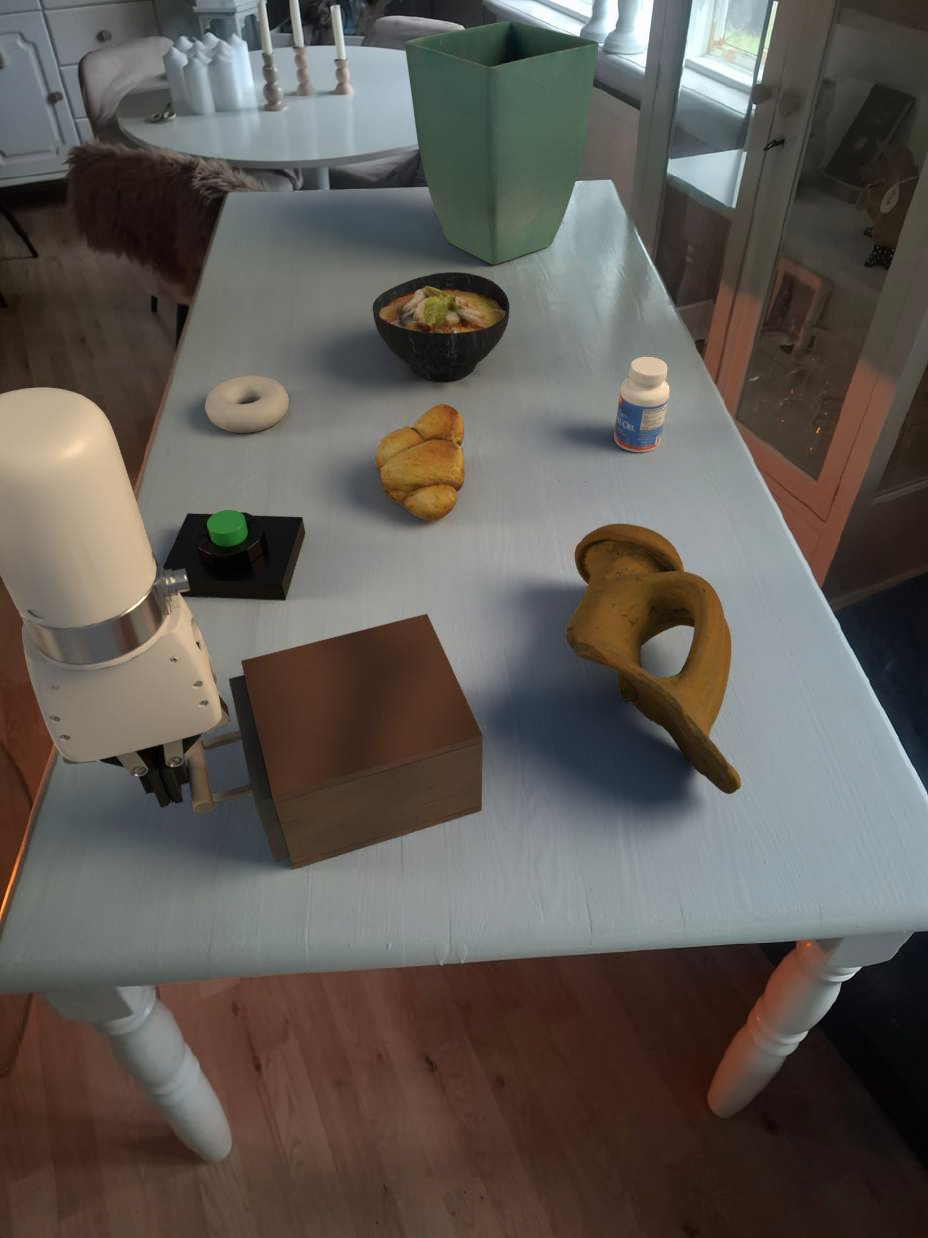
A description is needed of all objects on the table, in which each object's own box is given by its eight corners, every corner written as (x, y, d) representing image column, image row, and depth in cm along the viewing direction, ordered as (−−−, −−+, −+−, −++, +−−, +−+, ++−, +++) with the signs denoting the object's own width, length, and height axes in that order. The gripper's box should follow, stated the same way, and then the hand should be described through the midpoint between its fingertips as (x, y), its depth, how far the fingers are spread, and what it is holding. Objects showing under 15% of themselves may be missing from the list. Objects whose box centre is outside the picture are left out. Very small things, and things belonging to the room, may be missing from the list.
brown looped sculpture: (471, 696, 64) (557, 491, 76) (523, 783, 73) (594, 588, 85) (722, 726, 55) (777, 487, 67) (747, 820, 64) (792, 596, 76)
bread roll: (468, 528, 90) (468, 465, 84) (375, 532, 90) (368, 468, 84) (463, 457, 99) (462, 395, 93) (378, 460, 99) (372, 398, 93)
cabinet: (294, 869, 63) (271, 796, 56) (263, 738, 71) (240, 660, 64) (482, 810, 66) (482, 735, 59) (431, 691, 74) (427, 613, 68)
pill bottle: (605, 433, 102) (614, 357, 95) (645, 424, 103) (657, 348, 96) (627, 458, 98) (638, 381, 91) (668, 448, 100) (683, 371, 93)
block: (162, 595, 83) (151, 564, 80) (192, 529, 90) (183, 498, 87) (285, 600, 83) (278, 569, 80) (305, 533, 90) (300, 502, 87)
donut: (297, 395, 109) (219, 393, 109) (294, 370, 106) (213, 368, 107) (282, 440, 102) (198, 437, 102) (278, 414, 99) (192, 412, 100)
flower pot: (412, 240, 142) (401, 38, 122) (505, 211, 150) (510, 17, 130) (487, 282, 131) (489, 66, 111) (584, 248, 139) (602, 42, 119)
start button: (206, 546, 83) (202, 532, 81) (216, 522, 85) (212, 508, 84) (243, 548, 82) (239, 533, 81) (252, 524, 85) (248, 510, 84)
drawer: (214, 880, 61) (188, 821, 56) (194, 755, 69) (169, 693, 63) (450, 807, 65) (448, 745, 60) (407, 697, 73) (401, 633, 67)
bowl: (529, 351, 116) (532, 278, 109) (471, 413, 105) (470, 336, 98) (418, 324, 121) (415, 253, 114) (353, 381, 111) (344, 306, 104)
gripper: (220, 538, 53) (265, 723, 66) (-43, 591, 49) (59, 775, 62) (239, 620, 48) (283, 802, 61) (-52, 685, 44) (61, 864, 57)
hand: (170, 788), depth 62 cm, fingers closed
